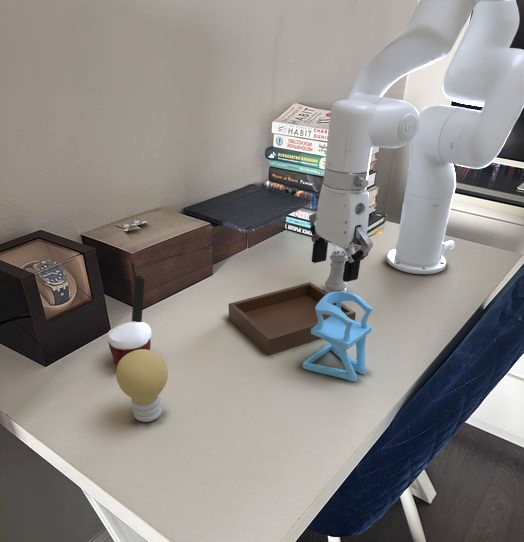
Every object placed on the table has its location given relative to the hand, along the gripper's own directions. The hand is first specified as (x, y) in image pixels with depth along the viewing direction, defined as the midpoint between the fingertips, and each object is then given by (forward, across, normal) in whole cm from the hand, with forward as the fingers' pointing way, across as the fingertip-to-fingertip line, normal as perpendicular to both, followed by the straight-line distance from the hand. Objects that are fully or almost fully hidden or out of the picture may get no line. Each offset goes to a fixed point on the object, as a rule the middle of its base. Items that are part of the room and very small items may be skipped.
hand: (333, 270), depth 98 cm
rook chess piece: (+5, 0, -1) cm, 5 cm away
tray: (+5, -6, +14) cm, 16 cm away
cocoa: (+6, -3, +41) cm, 42 cm away
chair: (+5, -21, +15) cm, 26 cm away
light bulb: (+6, -17, +44) cm, 48 cm away
